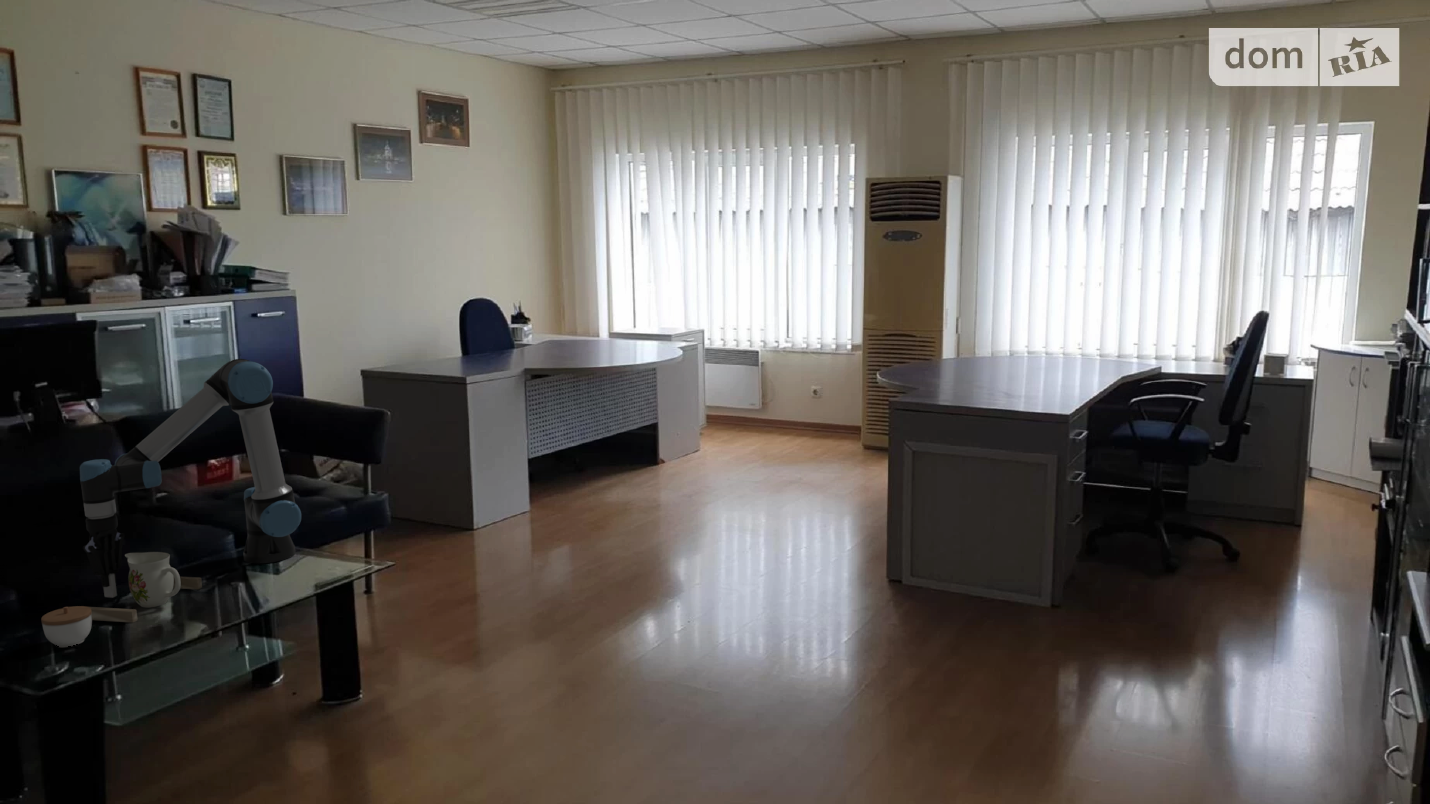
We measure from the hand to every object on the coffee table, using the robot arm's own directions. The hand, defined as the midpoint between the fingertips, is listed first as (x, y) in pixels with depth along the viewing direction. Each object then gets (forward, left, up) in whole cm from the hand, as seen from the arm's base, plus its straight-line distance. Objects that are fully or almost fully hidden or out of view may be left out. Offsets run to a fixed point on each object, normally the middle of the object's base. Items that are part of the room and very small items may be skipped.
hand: (110, 596), depth 286 cm
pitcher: (0, +15, -2) cm, 15 cm away
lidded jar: (+28, +13, -2) cm, 31 cm away
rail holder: (0, +11, -1) cm, 11 cm away
